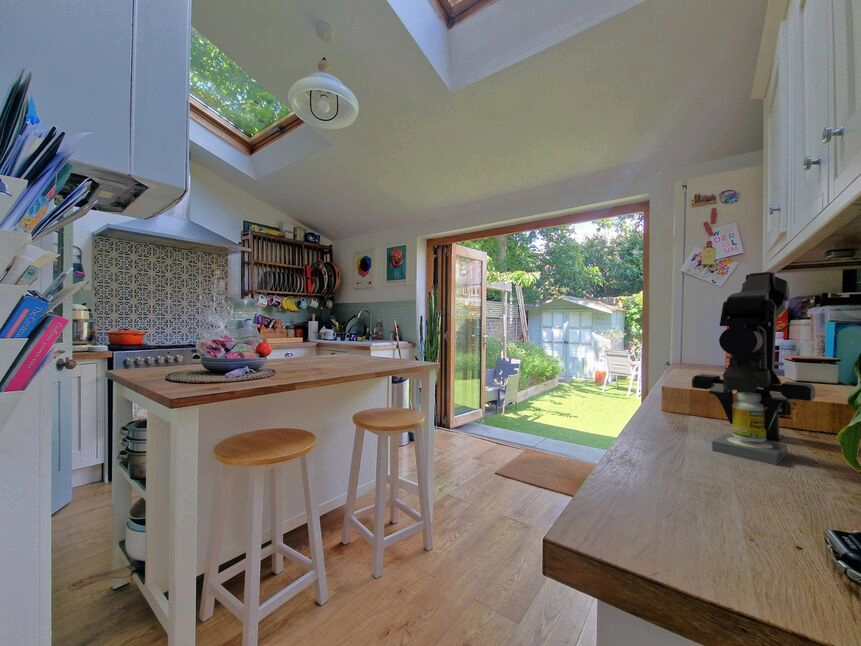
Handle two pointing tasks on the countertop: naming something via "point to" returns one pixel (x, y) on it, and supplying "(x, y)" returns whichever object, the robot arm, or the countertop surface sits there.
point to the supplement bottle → (749, 417)
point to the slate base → (750, 449)
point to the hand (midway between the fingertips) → (748, 426)
